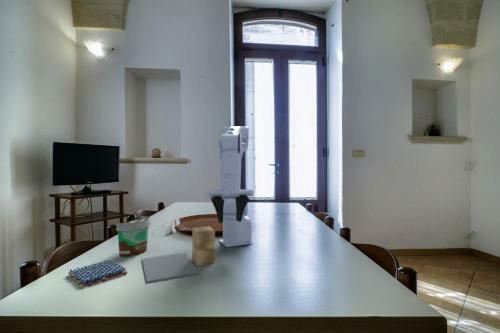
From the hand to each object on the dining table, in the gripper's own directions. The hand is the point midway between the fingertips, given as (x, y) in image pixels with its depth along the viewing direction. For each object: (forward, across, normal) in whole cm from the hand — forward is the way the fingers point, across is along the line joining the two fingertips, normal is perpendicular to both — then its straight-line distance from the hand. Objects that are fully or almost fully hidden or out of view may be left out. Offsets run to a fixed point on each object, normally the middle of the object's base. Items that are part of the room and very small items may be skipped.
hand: (229, 221), depth 77 cm
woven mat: (+12, -33, +3) cm, 35 cm away
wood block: (+11, -8, +1) cm, 13 cm away
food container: (+10, -24, +17) cm, 31 cm away
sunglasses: (+10, -11, +42) cm, 44 cm away
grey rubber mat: (+11, -17, +1) cm, 20 cm away
